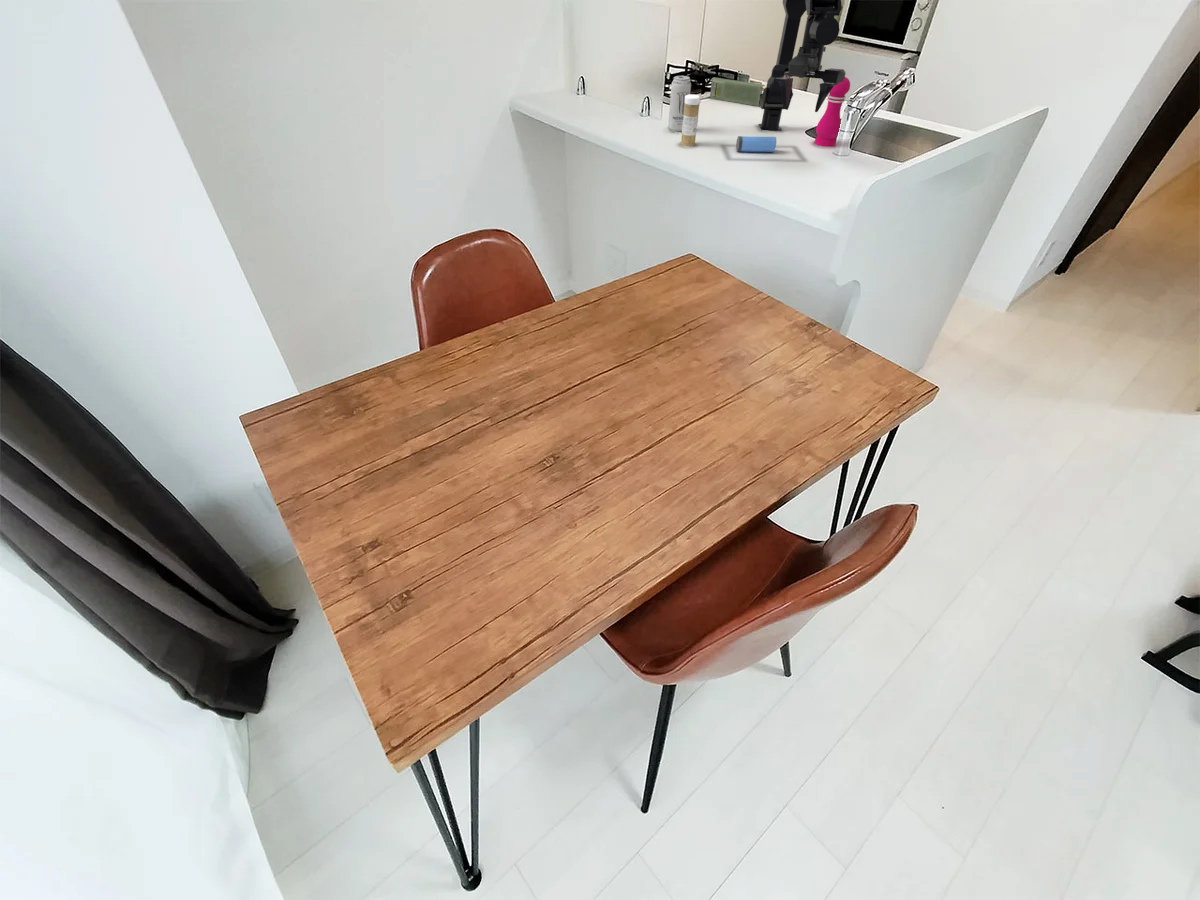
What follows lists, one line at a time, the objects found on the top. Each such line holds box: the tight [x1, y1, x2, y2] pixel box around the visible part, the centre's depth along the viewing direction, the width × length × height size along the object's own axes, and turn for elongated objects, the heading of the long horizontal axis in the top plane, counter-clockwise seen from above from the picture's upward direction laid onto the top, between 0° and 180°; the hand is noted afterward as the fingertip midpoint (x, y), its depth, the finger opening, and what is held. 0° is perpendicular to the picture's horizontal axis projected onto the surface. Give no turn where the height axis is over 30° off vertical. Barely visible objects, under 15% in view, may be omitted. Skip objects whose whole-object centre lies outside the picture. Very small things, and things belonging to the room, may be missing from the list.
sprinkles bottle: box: [680, 93, 702, 147], centre depth 180 cm, size 5×5×14 cm
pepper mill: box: [814, 71, 851, 148], centre depth 180 cm, size 7×7×20 cm
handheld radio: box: [709, 77, 766, 107], centre depth 219 cm, size 7×3×25 cm
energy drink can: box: [667, 75, 692, 134], centre depth 190 cm, size 6×6×15 cm
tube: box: [735, 135, 777, 153], centre depth 179 cm, size 4×11×4 cm, turn 90°
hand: (800, 109), depth 167 cm, fingers open, 9 cm apart
